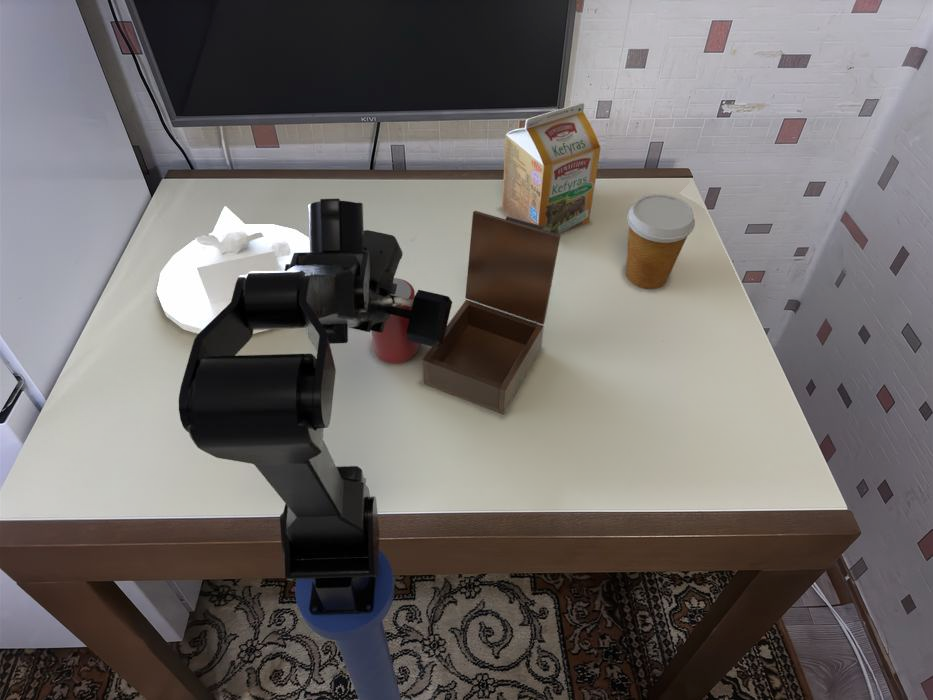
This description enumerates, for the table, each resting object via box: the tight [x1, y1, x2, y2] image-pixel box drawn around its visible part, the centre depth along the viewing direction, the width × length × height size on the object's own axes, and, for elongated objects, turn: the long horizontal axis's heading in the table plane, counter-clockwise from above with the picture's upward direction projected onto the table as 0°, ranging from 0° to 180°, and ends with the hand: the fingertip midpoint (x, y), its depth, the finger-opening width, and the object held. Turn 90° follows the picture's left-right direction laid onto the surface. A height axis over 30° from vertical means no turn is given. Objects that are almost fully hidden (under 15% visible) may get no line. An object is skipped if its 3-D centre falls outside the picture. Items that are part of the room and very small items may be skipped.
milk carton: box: [501, 102, 602, 235], centre depth 108 cm, size 10×11×19 cm
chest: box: [422, 299, 544, 415], centre depth 90 cm, size 13×12×5 cm
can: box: [371, 277, 420, 364], centre depth 90 cm, size 6×6×10 cm
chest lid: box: [465, 210, 561, 325], centre depth 89 cm, size 13×12×4 cm
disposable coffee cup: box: [625, 193, 696, 290], centre depth 100 cm, size 10×10×12 cm
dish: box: [156, 205, 310, 335], centre depth 99 cm, size 25×25×11 cm
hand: (395, 309), depth 90 cm, fingers open, 9 cm apart
